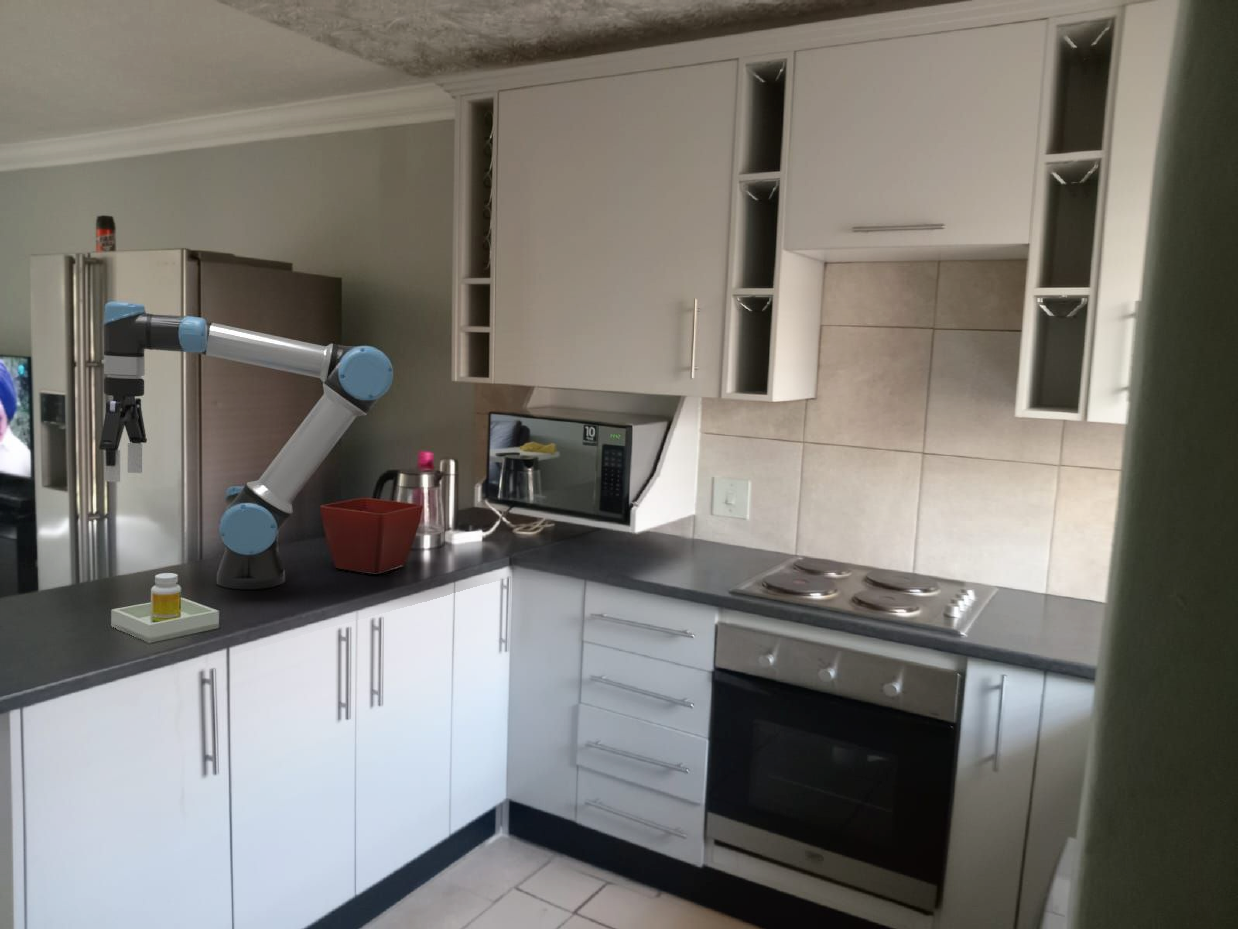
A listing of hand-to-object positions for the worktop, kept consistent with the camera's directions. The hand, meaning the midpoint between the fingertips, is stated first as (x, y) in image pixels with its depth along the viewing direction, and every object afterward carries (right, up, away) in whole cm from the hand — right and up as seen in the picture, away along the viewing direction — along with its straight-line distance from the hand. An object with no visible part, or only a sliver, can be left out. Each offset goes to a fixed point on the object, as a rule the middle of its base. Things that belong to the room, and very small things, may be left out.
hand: (123, 477), depth 195 cm
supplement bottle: (+16, -29, -14) cm, 36 cm away
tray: (+16, -30, -14) cm, 36 cm away
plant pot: (+40, -25, +44) cm, 65 cm away
